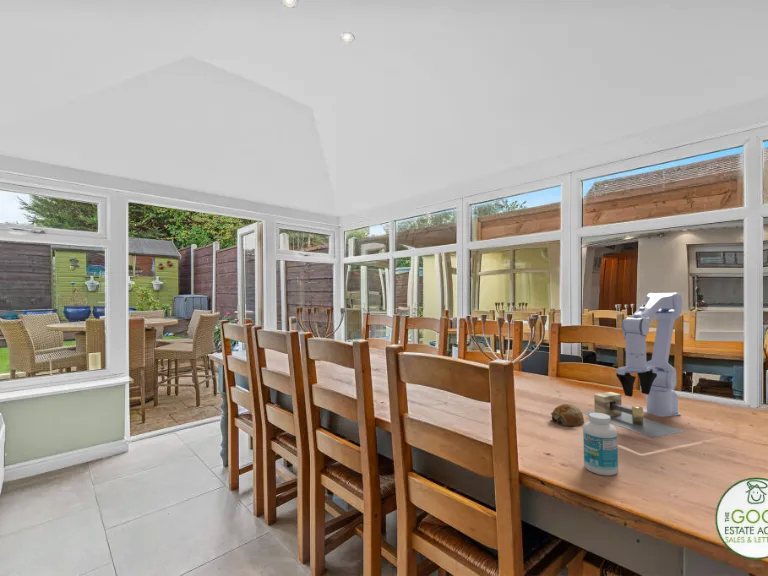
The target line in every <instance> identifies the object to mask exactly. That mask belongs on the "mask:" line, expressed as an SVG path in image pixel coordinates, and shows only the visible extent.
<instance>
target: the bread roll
mask: <svg viewBox="0 0 768 576" xmlns="http://www.w3.org/2000/svg"><path fill="white" fill-rule="evenodd" d="M550 414H551V421H552V422H553V423H554V424H556V425H559V426H562V427H569V428H570V427H571V428H573V427H575V428H576V426H584V424H585V419H584V415H583V414H584V413H582V411H581V409H580V408H579V407H577V406H575V405H573V404H570V403H563V404H560V405H558V406H556V407H555V408H554V410H553V411H552V412H551V413H550Z"/></svg>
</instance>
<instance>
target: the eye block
mask: <svg viewBox="0 0 768 576" xmlns="http://www.w3.org/2000/svg"><path fill="white" fill-rule="evenodd" d="M593 396H594V397H593V398H594V403H593V404H594V410H595V413H603V414H607V415H609V416H615V415H622V412H621V411H618V410H615V409H612V408H610V402H612V403H616V404H619V405H622V394H620V393H617V392H613V391H608V392H601V393H600V392H598V393H594V395H593ZM622 406H623V405H622Z"/></svg>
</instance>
